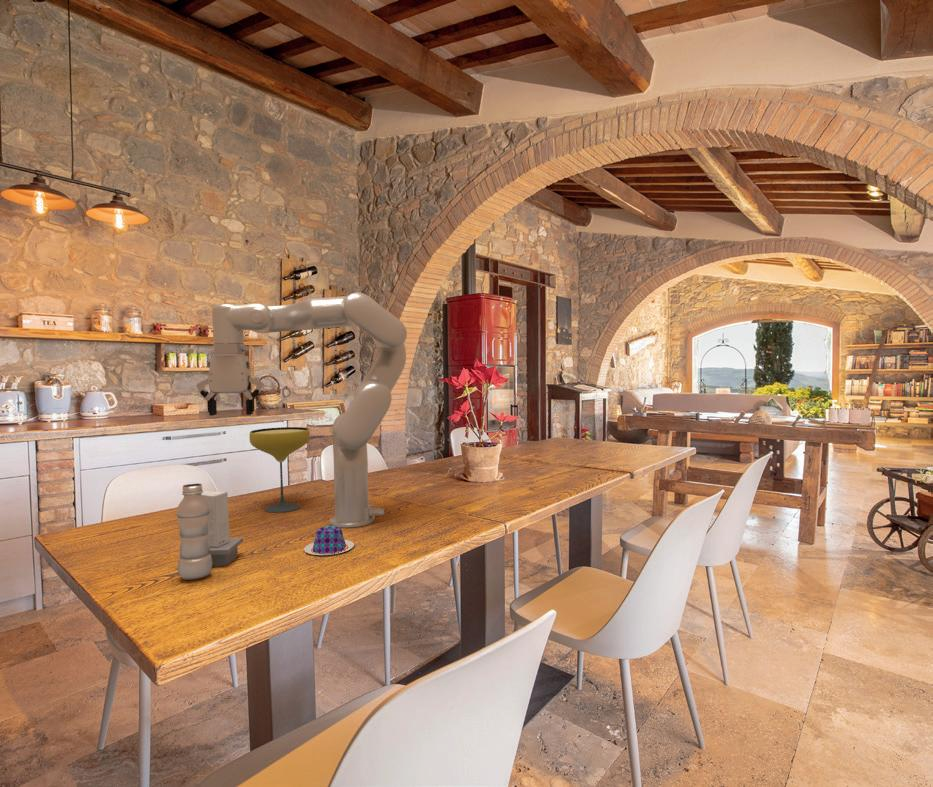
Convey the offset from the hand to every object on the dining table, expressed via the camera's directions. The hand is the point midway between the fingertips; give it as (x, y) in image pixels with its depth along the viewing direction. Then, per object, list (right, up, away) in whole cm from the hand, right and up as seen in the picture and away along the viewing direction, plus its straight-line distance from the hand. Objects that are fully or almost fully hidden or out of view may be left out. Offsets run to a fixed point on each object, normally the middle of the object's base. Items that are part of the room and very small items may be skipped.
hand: (231, 414), depth 147 cm
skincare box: (+4, -30, -20) cm, 36 cm away
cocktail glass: (+4, -31, +28) cm, 42 cm away
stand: (+4, -33, -20) cm, 39 cm away
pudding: (+29, -33, -12) cm, 46 cm away
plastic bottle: (+5, -34, -30) cm, 45 cm away
